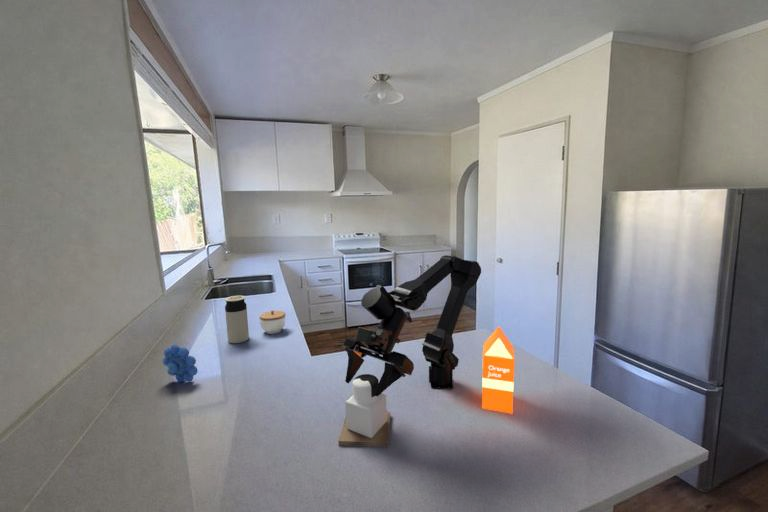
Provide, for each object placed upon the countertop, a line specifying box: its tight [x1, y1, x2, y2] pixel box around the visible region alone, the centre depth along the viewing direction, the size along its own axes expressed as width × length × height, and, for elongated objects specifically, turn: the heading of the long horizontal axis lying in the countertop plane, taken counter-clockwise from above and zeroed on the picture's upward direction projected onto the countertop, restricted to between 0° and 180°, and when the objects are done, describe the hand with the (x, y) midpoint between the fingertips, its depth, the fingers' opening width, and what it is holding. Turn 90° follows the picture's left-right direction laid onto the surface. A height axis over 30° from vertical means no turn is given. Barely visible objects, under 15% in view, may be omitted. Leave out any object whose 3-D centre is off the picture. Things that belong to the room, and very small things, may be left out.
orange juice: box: [481, 325, 516, 414], centre depth 87 cm, size 8×9×20 cm
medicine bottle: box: [345, 373, 388, 438], centre depth 77 cm, size 7×7×12 cm
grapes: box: [162, 344, 198, 383], centre depth 101 cm, size 12×7×12 cm, turn 79°
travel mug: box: [224, 295, 250, 344], centre depth 134 cm, size 8×8×18 cm
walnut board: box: [338, 411, 391, 448], centre depth 78 cm, size 11×11×1 cm
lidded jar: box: [259, 310, 286, 335], centre depth 144 cm, size 11×11×9 cm
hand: (360, 388), depth 76 cm, fingers open, 9 cm apart
